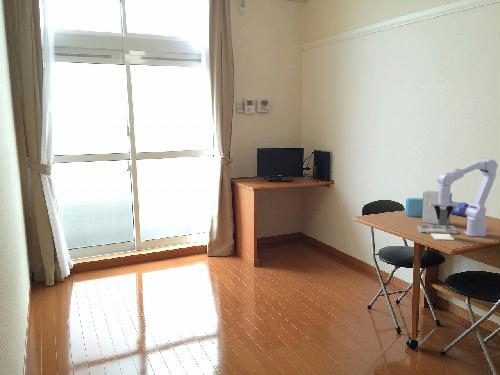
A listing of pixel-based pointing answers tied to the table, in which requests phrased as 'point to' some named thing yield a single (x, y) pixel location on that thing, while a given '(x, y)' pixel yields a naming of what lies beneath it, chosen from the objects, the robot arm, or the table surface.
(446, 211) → the square block
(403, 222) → the table surface
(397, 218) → the table surface
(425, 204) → the hard drive box
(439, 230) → the grey rail
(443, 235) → the mat
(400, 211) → the table surface
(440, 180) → the robot arm
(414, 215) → the data package
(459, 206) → the pencil case
